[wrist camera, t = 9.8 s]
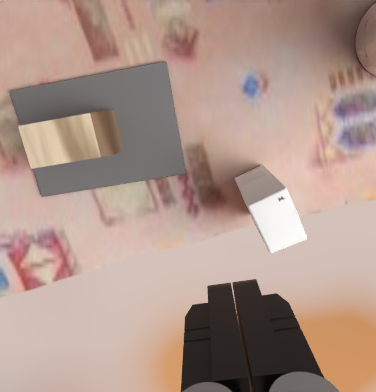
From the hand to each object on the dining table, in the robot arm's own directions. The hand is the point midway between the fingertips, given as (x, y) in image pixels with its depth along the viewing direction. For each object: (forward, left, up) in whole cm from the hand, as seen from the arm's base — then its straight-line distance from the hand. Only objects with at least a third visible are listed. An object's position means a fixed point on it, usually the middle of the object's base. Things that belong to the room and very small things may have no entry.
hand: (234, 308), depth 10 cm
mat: (+13, -5, -33) cm, 36 cm away
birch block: (+10, -5, -30) cm, 32 cm away
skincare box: (-6, +6, -33) cm, 34 cm away
